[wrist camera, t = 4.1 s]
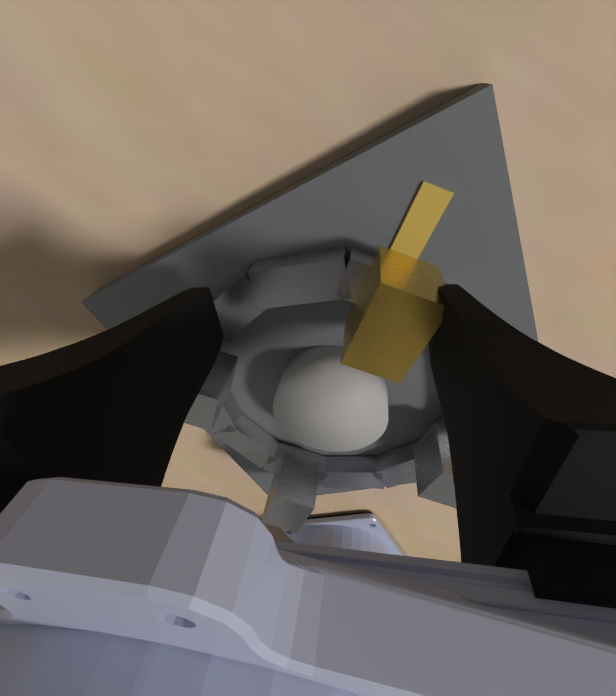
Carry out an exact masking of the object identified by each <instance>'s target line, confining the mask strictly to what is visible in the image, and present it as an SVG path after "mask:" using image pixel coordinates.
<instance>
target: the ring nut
mask: <svg viewBox="0 0 616 696" xmlns="http://www.w3.org/2000/svg"><path fill="white" fill-rule="evenodd" d="M445 284H447V283H445ZM445 284H444V281H443V278H442V275H441V272H440V268H439V266H436V265H433V264H430V263H428V262H425V261H422V260H419V259H417V258H414V257H411V256H408V255H406V254H403V253H400V252H397V251H395V250H392V249H389V248H386V247H384V246H381V245H380V246H379V249H378V251H377V253H376V255H373V254H371V253H368V252H365V251H362V250H359V249H357V248H354V247H352V248H351V250H350V253H349V255H348V256H347V250H346V246H344V247H338V248H332V249H325V250H319V251H313V252H307V253H301V254H294V255H288V256H282V257H276V258H269V259H263V260H257V261H255V262H254V264H253V265H252V264H251V263H250V264H249V265H248V266H247V267H246V268H245V269H244V270H242V271H241V272H240V273H239V274H238V275H237V276H236V277H235V278H234V279H233V280H232V281H231V282H229V283H228V284H227V285H226V286H225V287H224V288H223V289H222V290H221V291H220V292H219V293H218V294H216V295H215V296H214V297H213V301H214V305H215V308H216V311H217V315H218V318H219V321H220V325H221V328H222V332H223V335H224V338H223V341H222V344H221V348H220V351H219V353H218V356H217V359H216V361H215V363H214V365H213V367H212V369H211V371H210V373H209V375H208V377H207V379H206V381H205V382H204V384H203V386H202V388H201V390H200V392H199V394H198V395H197V397H196V399H195V401H194V403H193V405H192V407H191V409H190V410H189V413H188V415H187V417H186V419H185V421H184V423H187V424H190V425H193V426H196V427H200V428H203V429H206V430H209V431H210V432H214V436H216V437H217V438H218V439H220V440H221V441H223V442H224V443H226V444H227V445H228V446H230V447H231V448H233V449H234V450H235V451H237V452H238V453H240V454H241V455H243V456H244V457H245V458H247V459H248V460H250V461H251V462H253V463H254V464H255V465H257V466H258V467H260V468H261V467H263V466H264V468H263V469H264V470H267V471H270V472H273V473H275V474H274V476H273V478H272V482H271V486H270V489H269V493H268V497H267V501H266V505H265V509H264V513H263V517H262V522H263V523H265V524H268V525H271V526H275V527H278V528H281V529H285V530H288V531H291V532H295V533H298V531H299V530H300V528H301V527H302V526H303V524H304V523H305V521H306V520H307V518H308V517H309V515H310V514H311V512H312V511H313V510H314V506H315V499H316V492H317V486H319V487H320V486H321V485H322V484H323V487H324V488H382V489H384V485H385V486H386V487H387V488H390V487H393V486H396V485H399V484H402V483H406V482H409V481H412V480H415V479H416V481H417V491H418V496H419V497H422V498H425V499H429V500H432V501H435V502H438V503H441V504H444V505H448V506H451V507H454V508H456V498H455V489H454V481H453V472H452V464H451V456H450V449H449V441H448V435H447V430H446V425H445V421H444V417H443V415H442V416H441V417H440V419H439V420H438V421H437V422H434V423H433V425H432V426H431V427H430V428H429V429H428V430H427V431H426V433H425V434H424V435H423V436H422V437H421V438H420V439H419V440H418V441H415V442H412V443H410V444H407V445H404V446H402V447H399V448H397V449H394V450H391V451H389V452H386V453H383V454H381V455H378V456H346V457H325V456H322V455H319V454H316V453H312V452H309V451H306V450H303V449H300V448H297V447H294V446H290V445H287V444H284V443H281V442H278V441H277V440H275V439H274V438H273V437H271V436H270V435H269V434H268V433H266V432H265V431H264V430H262V429H261V428H260V427H258V426H257V425H256V424H254V423H253V422H252V421H251V420H249V419H248V418H247V417H245V416H244V415H243V414H241V412H240V410H239V408H238V406H237V404H236V402H235V400H234V398H233V396H232V394H231V392H230V389H231V386H232V382H233V378H234V373H235V369H236V365H237V360H238V356H235V355H232V354H229V353H226V350H227V344H228V339H230V338H231V337H232V336H233V335H235V334H236V333H237V332H238V331H240V330H241V329H242V328H243V327H245V326H246V325H247V324H249V323H250V322H251V321H252V320H254V319H255V318H256V317H257V316H259V315H260V314H261V313H263V312H264V311H265V310H266V309H268V308H275V307H283V306H291V305H299V304H307V303H316V302H324V301H332V300H340V299H343V300H346V301H349V302H352V303H353V305H352V307H351V309H350V311H349V314H348V316H347V318H346V322H345V330H344V338H343V346H342V354H341V362H340V364H343V365H346V366H349V367H352V368H355V369H357V370H360V371H363V372H366V373H369V374H372V375H375V376H378V377H381V378H384V379H387V380H390V381H393V382H396V383H399V384H400V383H401V382H402V380H403V379H404V377H405V376H406V374H407V373H408V371H409V370H410V369H411V367H412V366H413V364H414V363H415V361H416V360H417V358H418V357H419V355H420V354H421V353H422V351H423V350H424V348H425V347H426V345H427V344H428V342H429V341H430V339H431V338H432V337H433V335H434V334H435V332H436V331H437V329H438V328H439V326H440V325H441V322H442V316H443V310H444V304H443V301H442V299H441V296H440V292H439V289H438V287H440V286H443V285H445Z"/></svg>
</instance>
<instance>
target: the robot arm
mask: <svg viewBox="0 0 616 696" xmlns="http://www.w3.org/2000/svg"><path fill="white" fill-rule="evenodd" d="M438 289H439V292H440V296H441V299H442V301H443V304H444V310H443V316H442V322H441V325H440V326H439V328H438V329H437V331H436V332H435V334H434V335H433V337H432V338H431V339H430V341H429V342H428V345H429V355H430V364H431V369H432V373H433V377H434V381H435V385H436V389H437V393H438V397H439V401H440V405H441V409H442V413H443V417H444V421H445V425H446V430H447V435H448V441H449V449H450V456H451V464H452V472H453V481H454V489H455V498H456V508H457V518H458V527H459V538H460V550H461V562H462V563H461V562H452V561H444V560H436V559H427V558H419V557H410V556H404V554H403V553H402V552H401V550H400V549H399V548H398V546H397V545H396V543H395V542H394V541H393V539H392V538H391V536H390V535H389V534H388V532H387V531H386V529H385V528H384V527H383V525H382V524H381V523H380V521H379V520H378V518H377V517H376V516H375V515H374V514H370V513H366V514H356V515H346V516H336V517H326V518H317V519H307V520H306V521H305V523H304V524H303V526H302V527H301V528H300V530H299V531H298V533H295V532H291V531H288V530H285V529H281V528H280V529H281V530H282V531H283V532H284V533H285V534H286V535H287V536H288V537H289V538H290V539H291V540H292V541H293V542H294V543H293V542H285V541H277V540H274V539H273V536H272V534H271V533H270V531H269V530H268V528H267V527H266V526H265V524H264V523H263V522H262V521H261V520H260V518H259V517H258V516H257V515H256V514H255V512H253V511H251V510H249V509H247V508H245V507H244V506H242V505H240V504H238V503H236V502H234V501H232V500H230V499H229V498H226V497H222V496H218V495H213V494H209V493H205V492H201V491H196V490H188V489H178V488H168V487H161V485H162V482H163V479H164V475H165V472H166V469H167V466H168V464H169V461H170V458H171V455H172V452H173V449H174V447H175V444H176V441H177V439H178V436H179V434H180V431H181V429H182V426H183V423H184V421H185V419H186V417H187V415H188V413H189V410H190V409H191V407H192V405H193V403H194V401H195V399H196V397H197V395H198V394H199V392H200V390H201V388H202V386H203V384H204V382H205V381H206V379H207V377H208V375H209V373H210V371H211V369H212V367H213V365H214V363H215V361H216V359H217V356H218V353H219V351H220V348H221V344H222V341H223V338H224V335H223V332H222V328H221V325H220V321H219V318H218V315H217V311H216V308H215V305H214V301H213V298H212V294H211V291H210V288H209V287H197V288H190V289H187V290H185V291H183V292H181V293H179V294H176V295H174V296H173V297H171V298H169V299H167V300H165V301H163V302H161V303H159V304H158V305H156V306H154V307H152V308H150V309H148V310H146V311H144V312H143V313H141V314H139V315H137V316H135V317H133V318H131V319H129V320H127V321H125V322H123V323H121V324H119V325H117V326H115V327H113V328H110V329H108V330H106V331H104V332H102V333H99V334H97V335H95V336H92V337H90V338H87V339H85V340H82V341H80V342H77V343H74V344H71V345H69V346H66V347H63V348H60V349H57V350H54V351H51V352H48V353H45V354H42V355H39V356H35V357H32V358H28V359H25V360H21V361H18V362H14V363H10V364H6V365H2V366H0V696H616V378H614V377H611V376H609V375H606V374H604V373H601V372H599V371H596V370H594V369H592V368H590V367H587V366H585V365H583V364H581V363H578V362H576V361H574V360H572V359H570V358H567V357H565V356H563V355H561V354H559V353H557V352H555V351H553V350H552V349H550V348H548V347H546V346H544V345H543V344H541V343H539V342H537V341H535V340H533V339H532V338H530V337H528V336H527V335H525V334H524V333H522V332H520V331H519V330H517V329H516V328H514V327H513V326H511V325H510V324H508V323H507V322H506V321H504V320H503V319H501V318H500V317H499V316H497V315H496V314H495V313H493V312H492V311H491V310H489V309H488V308H487V307H485V306H484V305H483V304H482V303H480V302H479V301H478V300H477V299H476V298H474V297H473V296H472V295H471V294H469V293H468V292H467V291H466V290H465V289H463V288H462V287H461V286H459V285H458V284H445V285H443V286H440V287H438Z"/></svg>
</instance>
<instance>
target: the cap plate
mask: <svg viewBox="0 0 616 696" xmlns="http://www.w3.org/2000/svg"><path fill="white" fill-rule="evenodd" d="M380 245H381V246H384V247H386V248H389V249H392V250H395V251H397V252H400V253H403V254H406V255H408V256H411V257H414V258H417V259H419V260H422V261H425V262H428V263H430V264H433V265H436V266H439V268H440V272H441V275H442V278H443V281H444V284H445V283H447V284H458V285H459V286H461V287H462V288H463V289H465V290H466V291H467V292H468V293H469V294H471V295H472V296H473V297H474V298H476V299H477V300H478V301H479V302H480V303H482V304H483V305H484V306H485V307H487V308H488V309H489V310H491V311H492V312H493V313H495V314H496V315H497V316H499V317H500V318H501V319H503V320H504V321H506V322H507V323H508V324H510V325H511V326H513V327H514V328H516V329H517V330H519V331H520V332H522V333H524V334H525V335H527V336H528V337H530V338H532V339H533V340H535V341H537V342H538V338H537V332H536V326H535V321H534V315H533V310H532V304H531V298H530V293H529V287H528V282H527V276H526V271H525V265H524V259H523V254H522V248H521V243H520V237H519V231H518V226H517V220H516V215H515V209H514V203H513V198H512V192H511V187H510V181H509V176H508V170H507V164H506V159H505V153H504V148H503V142H502V136H501V131H500V125H499V120H498V114H497V108H496V103H495V97H494V92H493V86H492V84H486V83H480V84H479V85H477V86H475V87H473V88H471V89H469V90H467V91H466V92H464V93H462V94H460V95H458V96H456V97H454V98H453V99H451V100H449V101H447V102H445V103H443V104H441V105H440V106H438V107H436V108H434V109H432V110H430V111H428V112H426V113H425V114H423V115H421V116H419V117H417V118H415V119H413V120H412V121H410V122H408V123H406V124H404V125H402V126H400V127H399V128H397V129H395V130H393V131H391V132H389V133H387V134H386V135H384V136H382V137H380V138H378V139H376V140H374V141H373V142H371V143H369V144H367V145H365V146H363V147H361V148H360V149H358V150H356V151H354V152H352V153H350V154H348V155H347V156H345V157H343V158H341V159H339V160H337V161H335V162H334V163H332V164H330V165H328V166H326V167H324V168H322V169H321V170H319V171H317V172H315V173H313V174H311V175H309V176H308V177H306V178H304V179H302V180H300V181H298V182H296V183H294V184H293V185H291V186H289V187H287V188H285V189H283V190H281V191H280V192H278V193H276V194H274V195H272V196H270V197H268V198H267V199H265V200H263V201H261V202H259V203H257V204H255V205H254V206H252V207H250V208H248V209H246V210H244V211H242V212H241V213H239V214H237V215H235V216H233V217H231V218H229V219H228V220H226V221H224V222H222V223H220V224H218V225H216V226H215V227H213V228H211V229H209V230H207V231H205V232H203V233H202V234H200V235H198V236H196V237H194V238H192V239H190V240H189V241H187V242H185V243H183V244H181V245H179V246H177V247H176V248H174V249H172V250H170V251H168V252H166V253H164V254H162V255H161V256H159V257H157V258H155V259H153V260H151V261H149V262H148V263H146V264H144V265H142V266H140V267H138V268H136V269H135V270H133V271H131V272H129V273H127V274H125V275H123V276H122V277H120V278H118V279H116V280H114V281H112V282H110V283H109V284H107V285H105V286H103V287H101V288H99V289H98V290H96V291H95V292H94V293H92V294H91V295H90V296H89V297H87V298H86V299H85V300H84V301H82V303H83V304H84V305H85V306H86V307H87V309H88V310H89V311H90V312H91V313H92V314H93V315H94V316H95V317H96V318H97V319H98V320H99V321H100V322H101V323H102V324H103V325H104V326H105V327H106V328H107V329H110V328H113V327H115V326H117V325H119V324H121V323H123V322H125V321H127V320H129V319H131V318H133V317H135V316H137V315H139V314H141V313H143V312H144V311H146V310H148V309H150V308H152V307H154V306H156V305H158V304H159V303H161V302H163V301H165V300H167V299H169V298H171V297H173V296H174V295H176V294H179V293H181V292H183V291H185V290H187V289H190V288H197V287H209V288H210V291H211V294H212V298H213V297H214V296H215V295H216V294H218V293H219V292H220V291H221V290H222V289H223V288H224V287H225V286H226V285H227V284H228V283H229V282H231V281H232V280H233V279H234V278H235V277H236V276H237V275H238V274H239V273H240V272H241V271H242V270H244V269H245V268H246V267H247V266H248V265H249V264H250V263H251V264H252V265H253V264H254V262H255V261H257V260H263V259H269V258H276V257H282V256H288V255H294V254H301V253H307V252H313V251H319V250H325V249H332V248H338V247H344V246H346V250H347V256H348V255H349V253H350V250H351V248H352V247H354V248H357V249H359V250H362V251H365V252H368V253H371V254H373V255H376V253H377V251H378V249H379V246H380ZM352 305H353V303H352V302H349V301H346V300H343V299H340V300H332V301H324V302H316V303H307V304H299V305H291V306H283V307H275V308H268V309H266V310H265V311H264V312H263V313H261V314H260V315H259V316H257V317H256V318H255V319H254V320H252V321H251V322H250V323H249V324H247V325H246V326H245V327H243V328H242V329H241V330H240V331H238V332H237V333H236V334H235V335H233V336H232V337H231V338H230V339H228V344H227V350H226V353H229V354H232V355H235V356H238V360H237V365H236V369H235V373H234V378H233V382H232V386H231V389H230V392H231V394H232V396H233V398H234V400H235V402H236V404H237V406H238V408H239V410H240V412H241V414H243V415H244V416H245V417H247V418H248V419H249V420H251V421H252V422H253V423H254V424H256V425H257V426H258V427H260V428H261V429H262V430H264V431H265V432H266V433H268V434H269V435H270V436H271V437H273V438H274V439H275V440H277V441H278V442H281V443H284V444H287V445H290V446H294V447H297V448H300V449H303V450H306V451H309V452H312V453H316V454H319V455H322V456H325V457H346V456H378V455H381V454H383V453H386V452H389V451H391V450H394V449H397V448H399V447H402V446H404V445H407V444H410V443H412V442H415V441H418V440H419V439H420V438H421V437H422V436H423V435H424V434H425V433H426V431H427V430H428V429H429V428H430V427H431V426H432V425H433V423H434V422H437V421H438V420H439V419H440V417H441V416H442V415H443V413H442V409H441V405H440V401H439V397H438V393H437V389H436V385H435V381H434V377H433V373H432V369H431V364H430V355H429V345H428V344H427V345H426V347H425V348H424V350H423V351H422V353H421V354H420V355H419V357H418V358H417V360H416V361H415V363H414V364H413V366H412V367H411V369H410V370H409V371H408V373H407V374H406V376H405V377H404V379H403V380H402V382H401V383H400V384H399V383H396V382H393V381H390V380H387V379H384V378H381V377H378V376H375V375H372V374H369V373H366V372H363V371H360V370H357V369H355V368H352V367H349V366H346V365H343V364H340V362H341V354H342V346H343V338H344V330H345V322H346V318H347V316H348V314H349V311H350V309H351V307H352ZM204 430H205V431H206V432H207V433H208V434H209V435H210V436H211V437H212V438H213V439H214V440H215V441H216V442H217V443H218V444H219V445H220V446H221V447H222V448H223V449H224V450H225V451H226V452H227V453H228V454H229V455H230V456H231V457H232V459H233V460H234V461H235V462H236V463H237V464H238V465H239V466H240V467H241V468H242V469H243V470H244V471H245V472H246V473H247V474H248V475H249V476H250V477H251V478H252V479H253V480H254V481H255V482H256V483H257V484H258V485H259V486H260V487H261V489H262V490H263V491H264V492H265V493H266V494H267V495H268V493H269V489H270V486H271V482H272V478H273V476H274V474H275V473H273V472H270V471H267V470H264V469H263V468H264V466H263V467H261V468H260V467H258V466H257V465H255V464H254V463H253V462H251V461H250V460H248V459H247V458H245V457H244V456H243V455H241V454H240V453H238V452H237V451H235V450H234V449H233V448H231V447H230V446H228V445H227V444H226V443H224V442H223V441H221V440H220V439H218V438H217V437H216V436H214V432H210V431H209V430H206V429H204ZM416 482H417V481H416V479H415V480H412V481H409V482H406V483H402V484H408V483H416ZM399 485H400V484H399ZM384 487H385V485H384ZM362 489H370V488H324V487H323V484H322V485H321V486H320V487H319V486H317V492H316V495H324V494H331V493H339V492H347V491H354V490H362Z"/></svg>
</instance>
